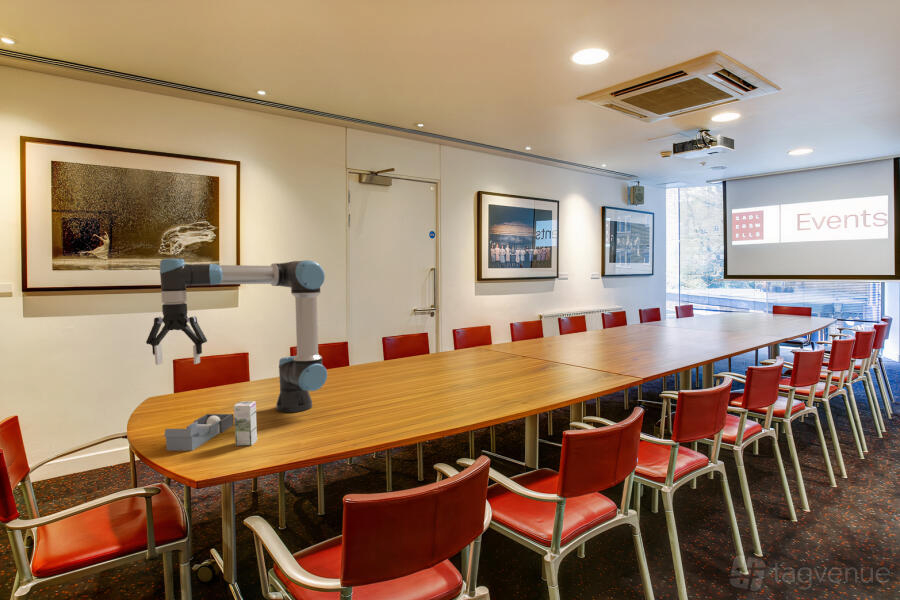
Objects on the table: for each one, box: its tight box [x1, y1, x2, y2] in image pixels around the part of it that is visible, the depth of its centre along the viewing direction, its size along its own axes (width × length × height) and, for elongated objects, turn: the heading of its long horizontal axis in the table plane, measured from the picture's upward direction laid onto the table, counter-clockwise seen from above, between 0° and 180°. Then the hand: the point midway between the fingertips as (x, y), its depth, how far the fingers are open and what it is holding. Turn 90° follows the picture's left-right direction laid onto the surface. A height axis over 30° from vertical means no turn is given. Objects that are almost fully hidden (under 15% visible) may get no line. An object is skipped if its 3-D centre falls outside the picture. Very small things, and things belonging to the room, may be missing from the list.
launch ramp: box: [163, 421, 221, 452], centre depth 173 cm, size 19×9×8 cm, turn 178°
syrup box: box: [233, 400, 258, 447], centre depth 170 cm, size 6×6×14 cm
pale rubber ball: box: [206, 416, 220, 424], centre depth 186 cm, size 5×5×5 cm
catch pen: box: [193, 413, 234, 434], centre depth 187 cm, size 9×11×4 cm
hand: (178, 363), depth 170 cm, fingers open, 13 cm apart
